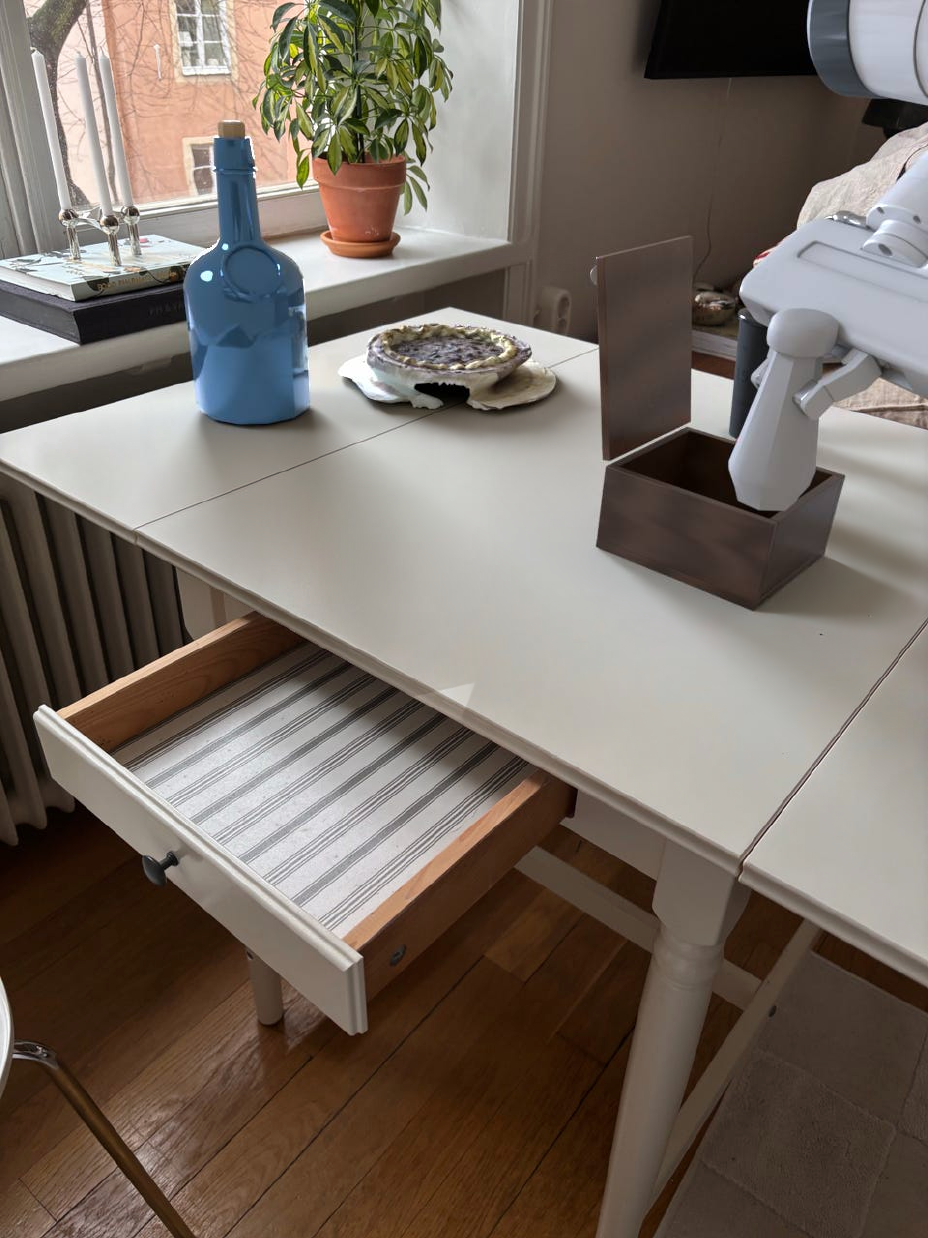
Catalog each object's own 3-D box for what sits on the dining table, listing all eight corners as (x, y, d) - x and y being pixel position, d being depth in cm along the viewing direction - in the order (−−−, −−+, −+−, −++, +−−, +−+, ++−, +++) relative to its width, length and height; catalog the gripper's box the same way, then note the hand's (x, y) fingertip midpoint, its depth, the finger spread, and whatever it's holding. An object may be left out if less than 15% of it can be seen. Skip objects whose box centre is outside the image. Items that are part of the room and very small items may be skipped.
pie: (317, 355, 130) (316, 318, 127) (500, 339, 139) (502, 304, 137) (384, 428, 108) (383, 385, 106) (594, 403, 118) (599, 363, 115)
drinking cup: (742, 418, 115) (777, 243, 105) (797, 437, 110) (839, 256, 100) (702, 431, 111) (735, 250, 100) (757, 452, 106) (797, 264, 95)
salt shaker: (722, 510, 66) (760, 320, 59) (722, 476, 70) (757, 296, 63) (810, 521, 65) (860, 329, 58) (804, 486, 69) (849, 304, 62)
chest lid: (693, 235, 83) (649, 236, 86) (604, 256, 74) (558, 257, 77) (691, 421, 90) (650, 417, 93) (610, 461, 81) (567, 455, 84)
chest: (824, 554, 86) (846, 474, 82) (754, 611, 77) (774, 524, 73) (674, 501, 95) (686, 426, 90) (595, 546, 86) (605, 465, 82)
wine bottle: (188, 395, 115) (153, 114, 99) (296, 384, 120) (279, 114, 104) (209, 436, 104) (174, 128, 88) (327, 422, 109) (314, 128, 93)
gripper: (812, 174, 67) (672, 324, 69) (1060, 234, 51) (869, 426, 54) (846, 237, 71) (712, 378, 73) (1087, 312, 55) (908, 488, 58)
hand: (780, 399), depth 63 cm, fingers closed on salt shaker, 3 cm apart
